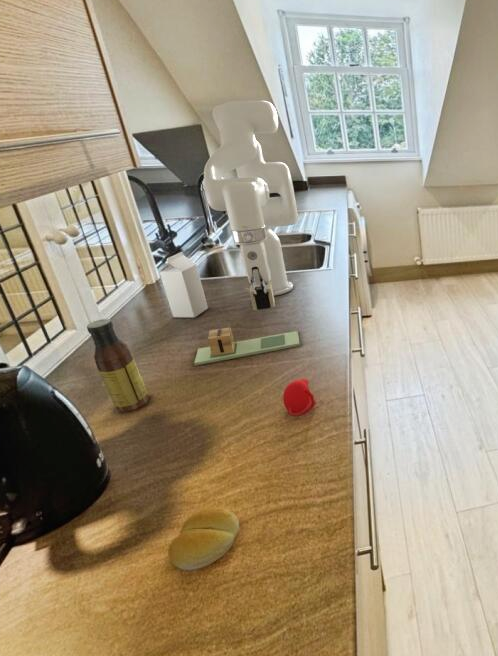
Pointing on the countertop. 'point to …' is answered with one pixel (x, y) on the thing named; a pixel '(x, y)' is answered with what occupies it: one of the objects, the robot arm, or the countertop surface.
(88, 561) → the countertop surface
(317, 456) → the countertop surface
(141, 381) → the sauce bottle
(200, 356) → the word mat
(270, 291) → the letter T
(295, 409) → the cap
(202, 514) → the bread roll
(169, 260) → the milk carton
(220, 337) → the letter I
